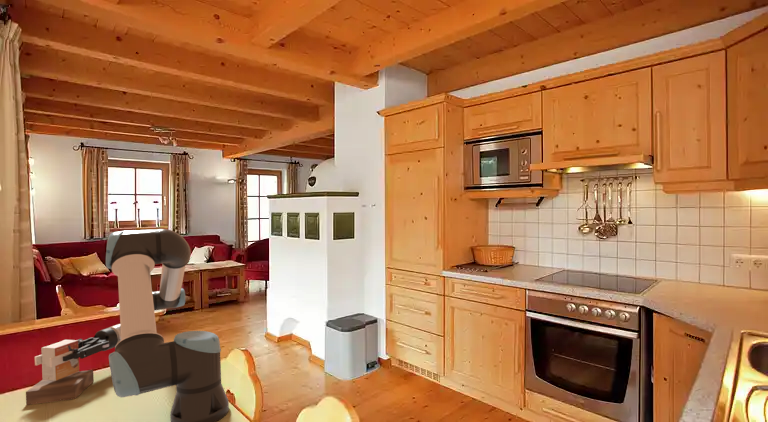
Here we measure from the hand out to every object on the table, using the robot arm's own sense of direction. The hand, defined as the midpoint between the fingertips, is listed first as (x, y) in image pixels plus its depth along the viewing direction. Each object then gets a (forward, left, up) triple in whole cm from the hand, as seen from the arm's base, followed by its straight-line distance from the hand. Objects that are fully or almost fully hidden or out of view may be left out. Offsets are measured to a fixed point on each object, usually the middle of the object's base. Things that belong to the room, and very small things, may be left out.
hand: (43, 361), depth 128 cm
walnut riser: (+4, -3, -12) cm, 13 cm away
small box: (+5, -3, -7) cm, 9 cm away
